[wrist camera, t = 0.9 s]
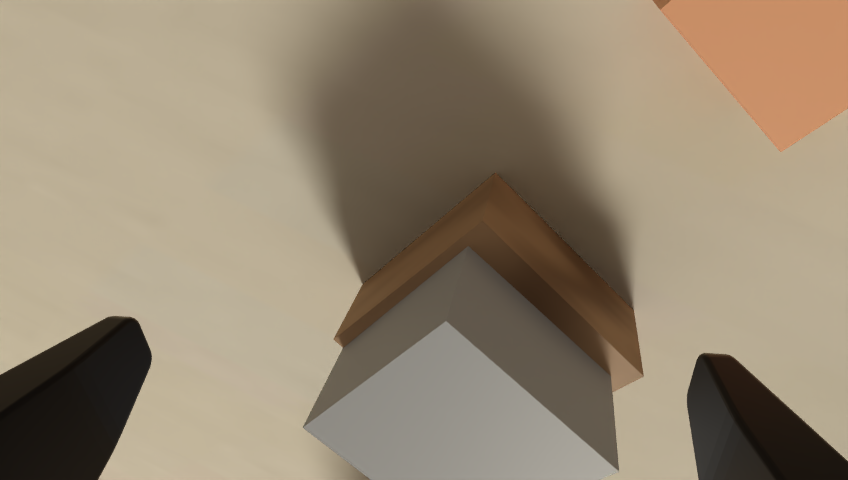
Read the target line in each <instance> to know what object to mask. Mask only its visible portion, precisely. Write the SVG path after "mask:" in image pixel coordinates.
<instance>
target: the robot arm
mask: <svg viewBox="0 0 848 480" xmlns="http://www.w3.org/2000/svg"><path fill="white" fill-rule="evenodd" d="M151 360H152V355H151V350H150V348H149V346H148V343H147V341H146V338H145V336H144V334H143V331H142V329H141V326H140V324H139V322H138V321H137V320H136V319H135V318H132V317H122V316H111V317H107V318H105V319H103V320H102V321H100V322H98V323H96V324H94V325H92V326H90V327H89V328H87V329H85V330H83V331H81V332H79V333H77V334H76V335H74V336H72V337H70V338H68V339H66V340H64V341H62V342H61V343H59V344H57V345H55V346H53V347H51V348H49V349H48V350H46V351H44V352H42V353H40V354H38V355H36V356H35V357H33V358H31V359H29V360H27V361H25V362H23V363H22V364H20V365H18V366H16V367H14V368H12V369H10V370H8V371H7V372H5V373H3V374H1V375H0V480H98V479H99V477H100V475H101V473H102V471H103V470H104V468H105V466H106V464H107V462H108V460H109V459H110V457H111V455H112V453H113V451H114V449H115V447H116V445H117V443H118V440H119V438H120V436H121V434H122V432H123V429H124V427H125V425H126V422H127V420H128V418H129V415H130V413H131V411H132V408H133V406H134V404H135V401H136V399H137V396H138V394H139V392H140V389H141V387H142V385H143V382H144V380H145V378H146V375H147V373H148V371H149V368H150V365H151ZM687 407H688V414H689V421H690V427H691V433H692V440H693V446H694V453H695V459H696V465H697V472H698V478H699V480H848V461H847V460H846V459H845V458H844V457H843V456H842V455H840V454H839V453H838V452H837V451H836V450H835V449H834V448H833V447H832V446H831V445H829V444H828V443H827V442H826V441H825V440H824V439H823V438H822V437H821V436H820V435H819V434H817V433H816V432H815V431H814V430H813V429H812V428H811V427H810V426H809V425H808V424H806V423H805V422H804V421H803V420H802V419H801V418H800V417H799V416H798V415H797V414H795V413H794V412H793V411H792V410H791V409H790V408H789V407H788V406H787V405H786V404H784V403H783V402H782V401H781V400H780V399H779V398H778V397H777V396H776V395H775V394H773V393H772V392H771V391H770V390H769V389H768V388H767V387H766V386H765V385H764V384H762V383H761V382H760V381H759V380H758V379H757V378H756V377H755V376H754V375H753V374H751V373H750V372H749V371H748V370H747V369H746V368H745V367H744V366H743V365H742V364H740V363H739V362H738V361H737V360H736V359H735V358H734V357H732V356H730V355H727V354H713V353H703V354H701V355H700V356H699V357H698V359H697V361H696V365H695V368H694V372H693V375H692V379H691V382H690V386H689V389H688V394H687Z"/></svg>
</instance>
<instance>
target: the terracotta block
mask: <svg viewBox="0 0 848 480" xmlns="http://www.w3.org/2000/svg"><path fill="white" fill-rule="evenodd" d="M653 1H654V3H655V4H656V5H657V6H658V8H659V9H660V10H661V11H662V13H663V14H664V15H665V16H666V17H667V19H668V20H669V21H670V22H671V23H672V24H673V26H674V27H675V28H676V29H677V30H678V32H679V33H680V34H681V35H682V36H683V37H684V39H685V40H686V41H687V42H688V43H689V45H690V46H691V47H692V48H693V49H694V50H695V52H696V53H697V54H698V55H699V56H700V58H701V59H702V60H703V61H704V62H705V63H706V65H707V66H708V67H709V68H710V69H711V71H712V72H713V73H714V74H715V75H716V76H717V78H718V79H719V80H720V81H721V82H722V84H723V85H724V86H725V87H726V88H727V89H728V91H729V92H730V93H731V94H732V95H733V97H734V98H735V99H736V100H737V101H738V102H739V104H740V105H741V106H742V107H743V108H744V110H745V111H746V112H747V113H748V114H749V115H750V117H751V118H752V119H753V120H754V121H755V123H756V124H757V125H758V126H759V127H760V128H761V130H762V131H763V132H764V133H765V134H766V136H767V137H768V138H769V139H770V140H771V141H772V143H773V144H774V145H775V146H776V147H777V149H778V150H779V151H780V152H782V151H783V150H785V149H786V148H788V147H789V146H791V145H792V144H794V143H795V142H797V141H799V140H800V139H802V138H803V137H805V136H806V135H808V134H809V133H811V132H812V131H814V130H815V129H817V128H818V127H820V126H822V125H823V124H825V123H826V122H828V121H829V120H831V119H832V118H834V117H835V116H837V115H838V114H840V113H841V112H843V111H844V110H846V109H848V0H653Z"/></svg>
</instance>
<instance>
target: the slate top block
mask: <svg viewBox="0 0 848 480" xmlns="http://www.w3.org/2000/svg"><path fill="white" fill-rule="evenodd" d="M303 428H304V429H305V430H306V431H308V432H309V433H310V434H312V435H313V436H314V437H316V438H317V439H318V440H320V441H321V442H322V443H323V444H325V445H326V446H327V447H329V448H330V449H331V450H333V451H334V452H335V453H336V454H338V455H339V456H340V457H342V458H343V459H344V460H346V461H347V462H348V463H350V464H351V465H352V466H353V467H355V468H356V469H357V470H359V471H360V472H361V473H363V474H364V475H365V476H366V477H368V478H369V479H370V480H601V479H604V478H606V477H608V476H610V475H612V474H615V473H617V472H619V466H618V454H617V442H616V430H615V418H614V406H613V394H612V382H611V376H610V375H609V374H608V373H607V372H606V371H605V370H604V369H602V368H601V367H600V366H599V365H598V364H597V363H596V362H595V361H594V360H593V359H592V358H590V357H589V356H588V355H587V354H586V353H585V352H584V351H583V350H582V349H581V348H580V347H579V346H577V345H576V344H575V343H574V342H573V341H572V340H571V339H570V338H569V337H568V336H567V335H565V334H564V333H563V332H562V331H561V330H560V329H559V328H558V327H557V326H556V325H554V324H553V323H552V322H551V321H550V320H549V319H548V318H547V317H546V316H545V315H543V314H542V313H541V312H540V311H539V310H538V309H537V308H536V307H535V306H534V305H533V304H531V303H530V302H529V301H528V300H527V299H526V298H525V297H524V296H523V295H522V294H520V293H519V292H518V291H517V290H516V289H515V288H514V287H513V286H512V285H511V284H510V283H508V282H507V281H506V280H505V279H504V278H503V277H502V276H501V275H500V274H499V273H497V272H496V271H495V270H494V269H493V268H492V267H491V266H490V265H489V264H488V263H486V262H485V261H484V260H483V259H482V258H481V257H480V256H479V255H478V254H477V253H476V252H474V251H473V250H472V249H471V248H470V247H469V246H468V247H466V248H465V249H464V250H463V251H461V252H460V253H459V254H458V255H456V256H455V257H454V258H453V259H452V260H450V261H449V262H448V263H447V264H445V265H444V266H443V267H442V268H441V269H439V270H438V271H437V272H436V273H434V274H433V275H432V276H431V277H429V278H428V279H427V280H426V281H425V282H423V283H422V284H421V285H420V286H418V287H417V288H416V289H415V290H414V291H412V292H411V293H410V294H409V295H407V296H406V297H405V298H404V299H402V300H401V301H400V302H399V303H398V304H396V305H395V306H394V307H393V308H391V309H390V310H389V311H388V312H387V313H385V314H384V315H383V316H382V317H380V318H379V319H378V320H377V321H375V322H374V323H373V324H372V325H371V326H369V327H368V328H367V329H366V330H364V331H363V332H362V333H361V334H360V335H358V336H357V337H356V338H355V339H353V340H352V341H351V342H350V343H349V344H347V345H346V346H345V347H344V348H343V349H342V351H341V353H340V355H339V357H338V359H337V361H336V363H335V365H334V367H333V369H332V371H331V373H330V375H329V377H328V379H327V381H326V383H325V385H324V387H323V389H322V391H321V393H320V395H319V397H318V399H317V401H316V403H315V404H314V406H313V408H312V410H311V412H310V414H309V416H308V418H307V420H306V422H305V424H304V426H303Z"/></svg>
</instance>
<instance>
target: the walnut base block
mask: <svg viewBox="0 0 848 480" xmlns="http://www.w3.org/2000/svg"><path fill="white" fill-rule="evenodd" d="M468 246H469V247H470V248H471V249H472V250H473V251H474V252H476V253H477V254H478V255H479V256H480V257H481V258H482V259H483V260H484V261H485V262H486V263H488V264H489V265H490V266H491V267H492V268H493V269H494V270H495V271H496V272H497V273H499V274H500V275H501V276H502V277H503V278H504V279H505V280H506V281H507V282H508V283H510V284H511V285H512V286H513V287H514V288H515V289H516V290H517V291H518V292H519V293H520V294H522V295H523V296H524V297H525V298H526V299H527V300H528V301H529V302H530V303H531V304H533V305H534V306H535V307H536V308H537V309H538V310H539V311H540V312H541V313H542V314H543V315H545V316H546V317H547V318H548V319H549V320H550V321H551V322H552V323H553V324H554V325H556V326H557V327H558V328H559V329H560V330H561V331H562V332H563V333H564V334H565V335H567V336H568V337H569V338H570V339H571V340H572V341H573V342H574V343H575V344H576V345H577V346H579V347H580V348H581V349H582V350H583V351H584V352H585V353H586V354H587V355H588V356H589V357H590V358H592V359H593V360H594V361H595V362H596V363H597V364H598V365H599V366H600V367H601V368H602V369H604V370H605V371H606V372H607V373H608V374H609V375H610V376H611V382H612V392H614V391H616V390H618V389H620V388H622V387H624V386H626V385H628V384H630V383H632V382H634V381H636V380H638V379H640V378H642V377H643V376H644V375H643V369H642V362H641V355H640V349H639V342H638V335H637V328H636V322H635V315H634V310H633V309H632V308H631V307H630V306H629V305H628V304H627V303H626V302H625V301H624V300H623V299H622V298H621V297H620V296H619V295H618V294H617V293H616V292H615V291H614V290H613V289H612V288H611V287H610V286H609V285H608V284H607V283H606V282H605V281H604V280H603V279H602V278H601V277H600V276H599V275H598V274H597V273H596V272H595V271H594V270H593V269H592V268H591V267H590V266H589V265H588V264H587V263H586V262H585V261H584V260H583V259H582V258H581V257H580V256H579V255H578V254H577V253H576V252H575V251H574V250H573V249H572V248H571V247H570V246H569V245H568V244H567V243H566V242H565V241H564V240H563V239H562V238H561V237H560V236H559V235H558V234H557V233H556V232H555V231H554V230H553V229H552V228H551V227H550V226H549V225H548V224H547V223H546V222H545V221H544V220H542V219H541V218H540V217H539V216H538V215H537V214H536V213H535V212H534V211H533V210H532V209H531V208H530V207H529V206H528V205H527V204H526V203H525V202H524V201H523V200H522V199H521V198H520V197H519V196H518V195H517V194H516V193H515V192H514V191H513V190H512V189H511V188H510V187H509V186H508V185H507V184H506V183H505V182H504V181H503V180H502V179H501V178H500V177H499V176H498V175H497V174H496V173H494V174H493V175H492V176H491V177H490V178H489V179H487V180H486V181H485V182H484V183H483V184H481V185H480V186H479V187H478V188H477V189H475V190H474V191H473V192H472V193H471V194H470V195H468V196H467V197H466V198H465V199H464V200H462V201H461V202H460V203H459V204H458V205H456V206H455V207H454V208H453V209H452V210H451V211H449V212H448V213H447V214H446V215H445V216H443V217H442V218H441V219H440V220H439V221H437V222H436V223H435V224H434V225H433V226H432V227H430V228H429V229H428V230H427V231H426V232H424V233H423V234H422V235H421V236H420V237H418V238H417V239H416V240H415V241H414V242H413V243H411V244H410V245H409V246H408V247H407V248H405V249H404V250H403V251H402V252H401V253H399V254H398V255H397V256H396V257H395V258H394V259H392V260H391V261H390V262H389V263H388V264H386V265H385V266H384V267H383V268H382V269H380V270H379V271H378V272H377V273H376V274H375V275H373V276H372V277H371V278H370V279H369V280H367V281H366V282H365V283H364V284H363V285H362V287H361V289H360V290H359V292H358V294H357V296H356V298H355V300H354V302H353V304H352V306H351V307H350V309H349V311H348V313H347V315H346V317H345V319H344V321H343V322H342V324H341V326H340V328H339V330H338V332H337V334H336V336H335V338H334V339H333V340H335V341H336V342H337V343H338V344H339V345H341V346H342V347H343V348H344V347H345V346H346V345H347V344H349V343H350V342H351V341H352V340H353V339H355V338H356V337H357V336H358V335H360V334H361V333H362V332H363V331H364V330H366V329H367V328H368V327H369V326H371V325H372V324H373V323H374V322H375V321H377V320H378V319H379V318H380V317H382V316H383V315H384V314H385V313H387V312H388V311H389V310H390V309H391V308H393V307H394V306H395V305H396V304H398V303H399V302H400V301H401V300H402V299H404V298H405V297H406V296H407V295H409V294H410V293H411V292H412V291H414V290H415V289H416V288H417V287H418V286H420V285H421V284H422V283H423V282H425V281H426V280H427V279H428V278H429V277H431V276H432V275H433V274H434V273H436V272H437V271H438V270H439V269H441V268H442V267H443V266H444V265H445V264H447V263H448V262H449V261H450V260H452V259H453V258H454V257H455V256H456V255H458V254H459V253H460V252H461V251H463V250H464V249H465V248H466V247H468Z"/></svg>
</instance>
